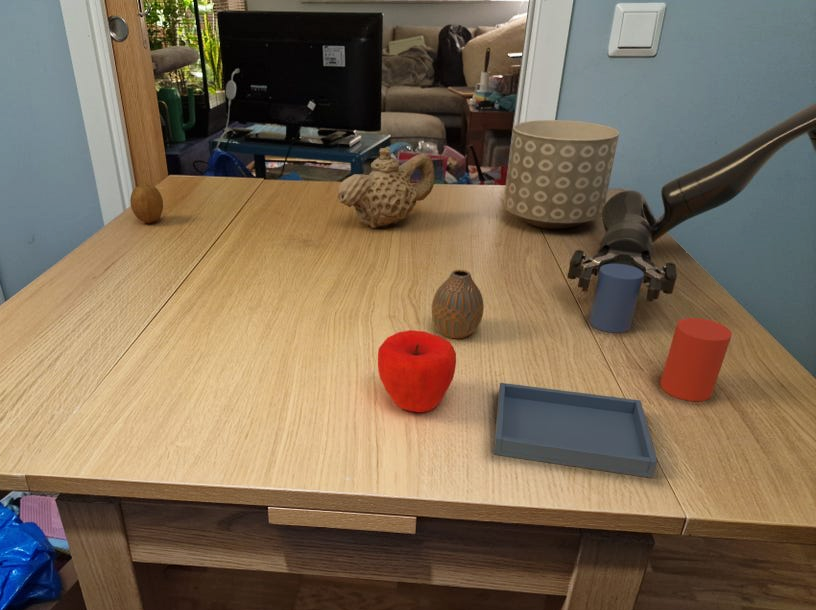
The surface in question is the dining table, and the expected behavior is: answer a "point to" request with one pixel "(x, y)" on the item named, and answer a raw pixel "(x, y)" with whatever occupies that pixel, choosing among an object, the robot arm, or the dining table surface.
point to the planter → (559, 172)
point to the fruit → (146, 203)
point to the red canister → (695, 359)
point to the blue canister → (615, 297)
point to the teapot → (387, 189)
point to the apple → (416, 369)
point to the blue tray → (574, 430)
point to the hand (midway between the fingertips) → (617, 290)
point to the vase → (457, 306)
